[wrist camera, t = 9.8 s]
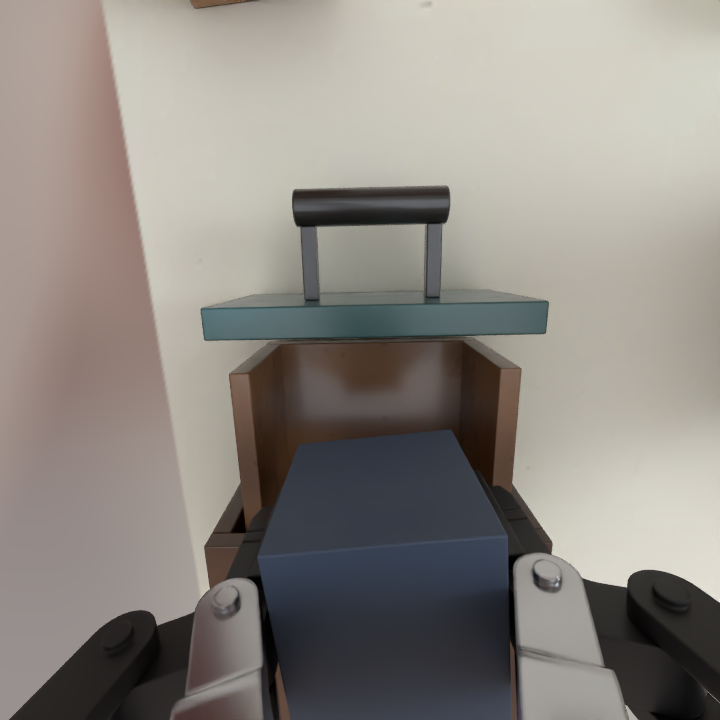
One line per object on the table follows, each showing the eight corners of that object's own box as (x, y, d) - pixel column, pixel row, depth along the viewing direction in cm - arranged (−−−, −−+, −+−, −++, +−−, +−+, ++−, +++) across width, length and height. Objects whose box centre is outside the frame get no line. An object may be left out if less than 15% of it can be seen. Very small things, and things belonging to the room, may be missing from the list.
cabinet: (261, 445, 23) (203, 547, 15) (484, 442, 23) (553, 542, 15) (275, 601, 26) (233, 759, 18) (474, 599, 26) (528, 758, 17)
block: (319, 571, 13) (293, 739, 8) (298, 443, 11) (255, 556, 7) (459, 559, 12) (512, 725, 8) (451, 428, 11) (508, 535, 7)
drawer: (245, 207, 19) (183, 176, 12) (493, 201, 19) (562, 166, 12) (268, 472, 23) (230, 557, 16) (477, 469, 22) (525, 554, 16)
